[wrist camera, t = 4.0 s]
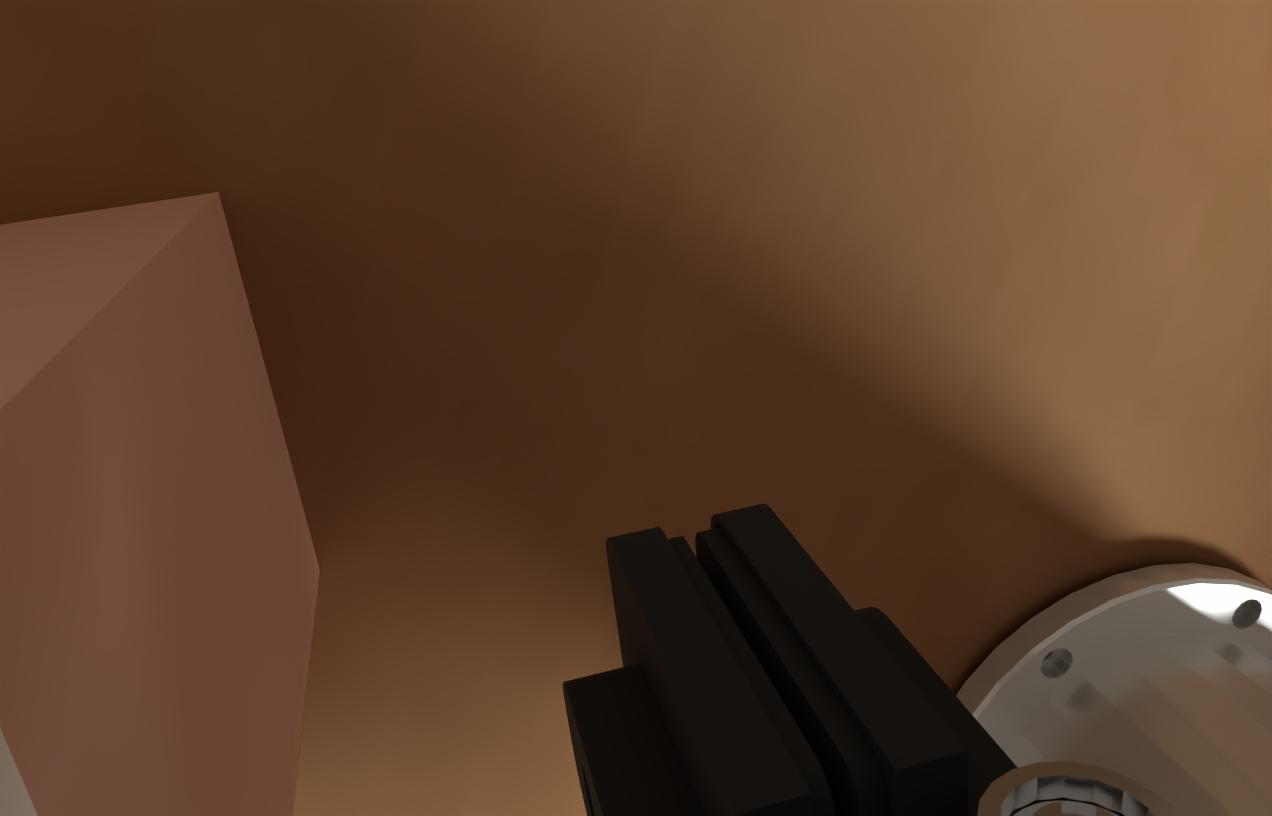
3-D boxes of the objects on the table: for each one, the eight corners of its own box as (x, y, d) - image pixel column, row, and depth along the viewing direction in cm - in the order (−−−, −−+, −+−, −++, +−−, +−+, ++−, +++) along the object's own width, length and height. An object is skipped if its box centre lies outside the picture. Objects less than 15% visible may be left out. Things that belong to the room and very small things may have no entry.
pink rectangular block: (218, 192, 19) (-132, 542, 6) (319, 570, 22) (232, 1348, 9) (-79, 236, 18) (-1232, 756, 5) (68, 623, 21) (-428, 1568, 8)
